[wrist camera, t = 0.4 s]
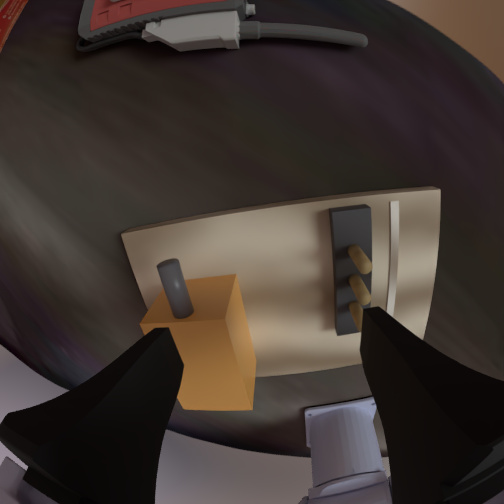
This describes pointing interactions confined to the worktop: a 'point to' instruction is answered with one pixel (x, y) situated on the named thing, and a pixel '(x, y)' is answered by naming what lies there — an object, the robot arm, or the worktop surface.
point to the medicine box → (9, 17)
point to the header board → (307, 268)
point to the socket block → (206, 338)
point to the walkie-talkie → (190, 24)
